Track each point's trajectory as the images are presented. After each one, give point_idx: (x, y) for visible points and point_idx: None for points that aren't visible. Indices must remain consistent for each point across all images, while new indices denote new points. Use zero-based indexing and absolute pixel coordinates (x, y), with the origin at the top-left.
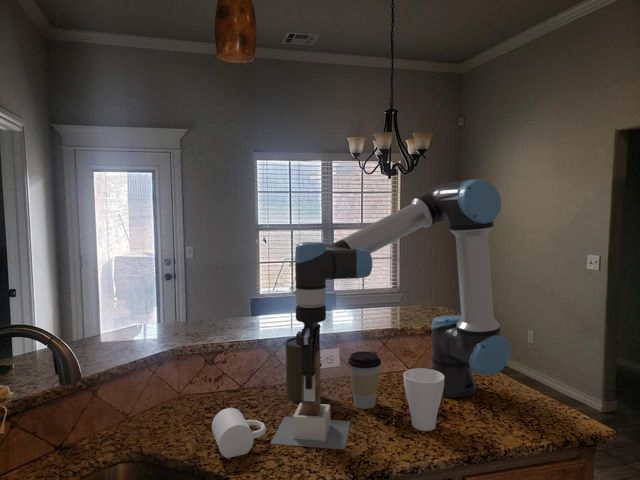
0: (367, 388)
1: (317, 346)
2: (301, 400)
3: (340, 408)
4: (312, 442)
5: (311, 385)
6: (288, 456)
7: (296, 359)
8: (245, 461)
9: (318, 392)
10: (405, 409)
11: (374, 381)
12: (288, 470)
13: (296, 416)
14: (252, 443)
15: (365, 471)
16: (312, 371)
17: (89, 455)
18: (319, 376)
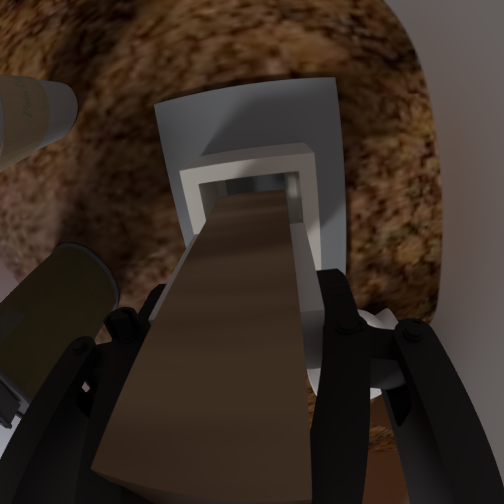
0: (30, 91)
1: (93, 484)
2: (107, 281)
3: (84, 169)
4: (321, 178)
5: (337, 281)
6: (379, 222)
7: None
8: (401, 299)
9: (264, 227)
10: (48, 18)
11: (5, 76)
12: (430, 205)
13: (318, 261)
14: (389, 313)
15: (398, 25)
16: (407, 345)
17: (374, 437)
18: (212, 274)
